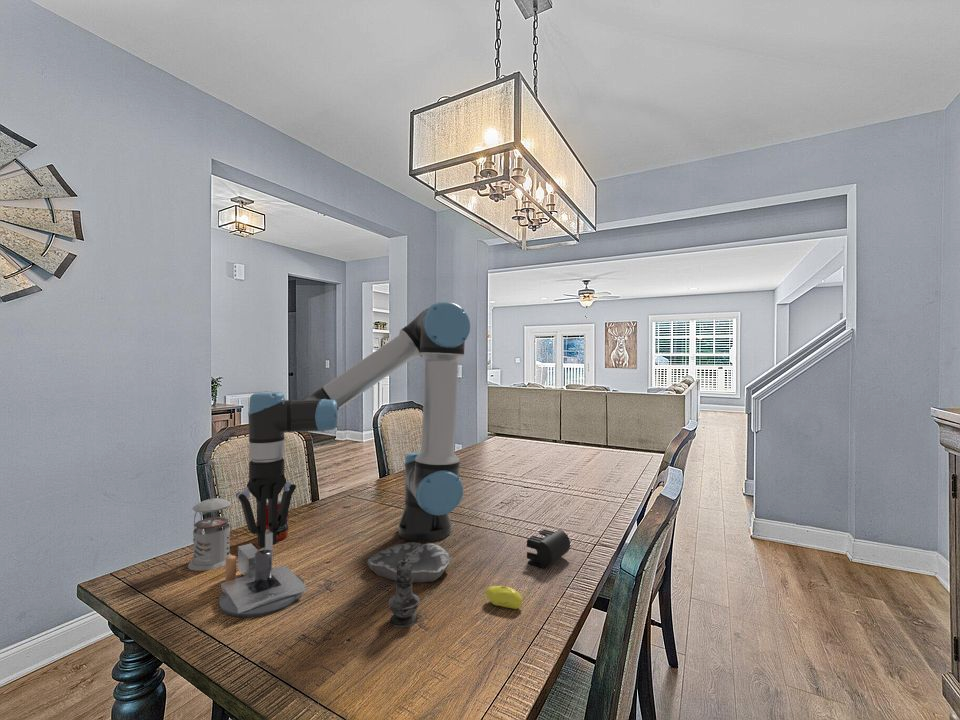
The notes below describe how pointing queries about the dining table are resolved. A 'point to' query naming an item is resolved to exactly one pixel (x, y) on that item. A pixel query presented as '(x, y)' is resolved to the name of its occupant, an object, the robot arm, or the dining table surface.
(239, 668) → the dining table surface
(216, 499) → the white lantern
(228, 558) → the dowel
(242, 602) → the grey plastic holder
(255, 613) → the post base
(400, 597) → the dark grey chess piece
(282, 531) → the canned food
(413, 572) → the brain slice
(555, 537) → the end cap
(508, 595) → the lemon
